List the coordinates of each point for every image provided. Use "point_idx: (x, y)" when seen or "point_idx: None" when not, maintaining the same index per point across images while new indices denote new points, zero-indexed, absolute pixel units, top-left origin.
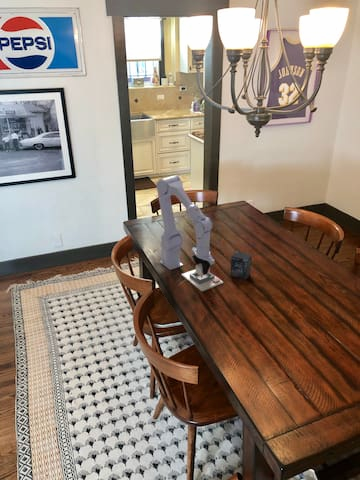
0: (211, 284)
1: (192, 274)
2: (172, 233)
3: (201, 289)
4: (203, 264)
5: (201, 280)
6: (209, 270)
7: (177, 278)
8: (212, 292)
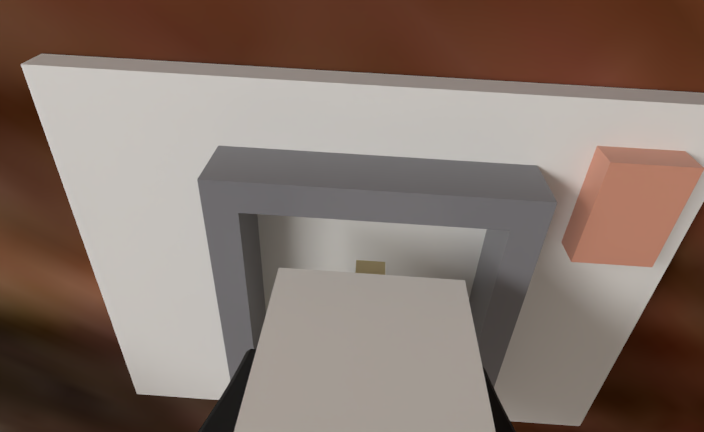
0: (606, 300)
1: None
2: None
3: (569, 425)
4: None
5: None
6: (474, 342)
7: (186, 421)
8: (698, 350)
